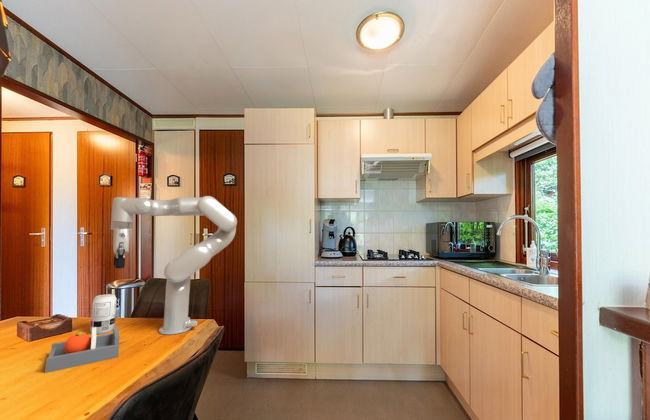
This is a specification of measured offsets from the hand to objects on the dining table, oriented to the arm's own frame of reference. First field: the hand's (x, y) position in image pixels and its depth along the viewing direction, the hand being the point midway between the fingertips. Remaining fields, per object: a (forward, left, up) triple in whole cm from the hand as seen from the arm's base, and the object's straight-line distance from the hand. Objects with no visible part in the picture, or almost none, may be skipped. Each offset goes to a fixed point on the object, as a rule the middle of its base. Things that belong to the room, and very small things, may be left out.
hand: (118, 266), depth 117 cm
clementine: (-1, +19, -27) cm, 34 cm away
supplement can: (+8, -6, -28) cm, 30 cm away
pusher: (-4, +18, -27) cm, 33 cm away
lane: (-2, +19, -28) cm, 34 cm away
